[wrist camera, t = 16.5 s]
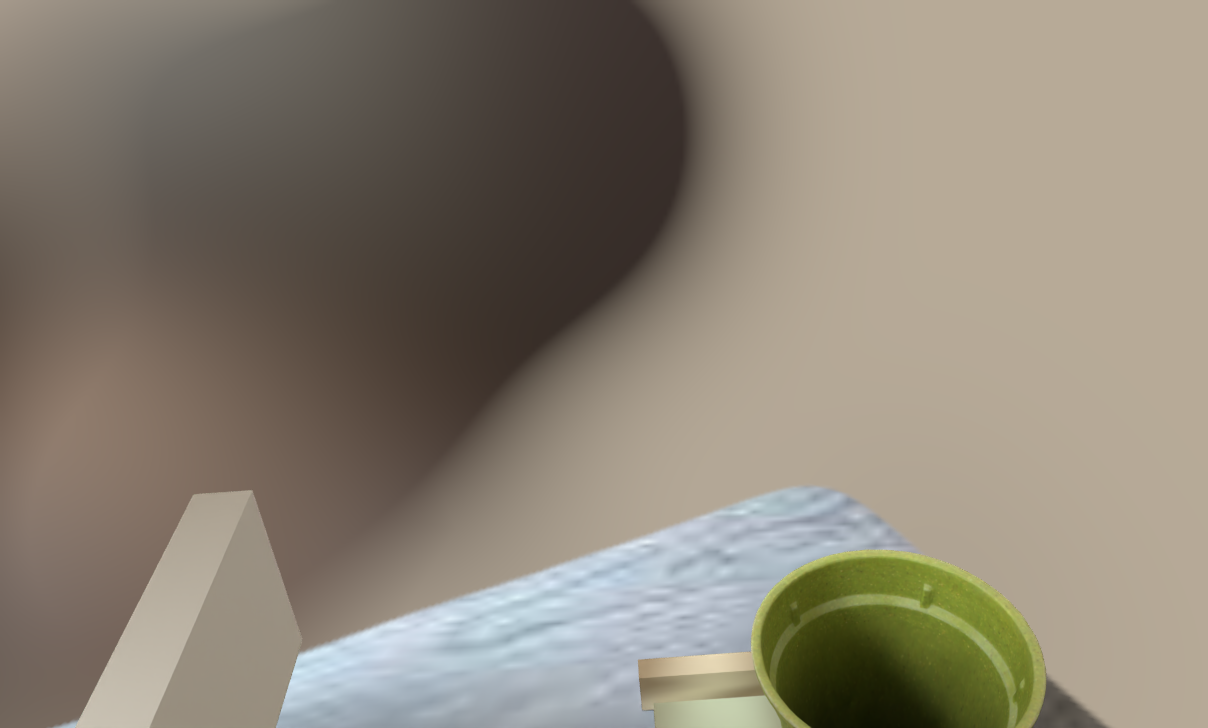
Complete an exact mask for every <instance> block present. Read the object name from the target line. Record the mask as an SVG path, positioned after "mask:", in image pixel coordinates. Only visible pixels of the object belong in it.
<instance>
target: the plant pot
mask: <svg viewBox="0 0 1208 728" xmlns="http://www.w3.org/2000/svg"><path fill="white" fill-rule="evenodd" d="M751 651H752V659H753V664H754V669H755V672H756V676H757V679H758V681H759V683H760V686H761V688H762V690H763V692H764V694H765V696H766V697H767V699H768V701H769V702H770V704H771V705H772V707H773V708H774V709H775V711H776V713H777V715H778V717H779V719H780V721H781V726H782V728H1032V727H1033V726H1034V724H1035V722H1036V720H1037V718H1038V716H1039V713H1040V711H1041V708H1042V705H1043V701H1044V697H1045V691H1046V668H1045V664H1044V659H1043V654H1042V651H1041V648H1040V646H1039V643H1038V640H1037V638H1036V636H1035V635H1034V633H1033V631H1032V630H1031V628H1030V627H1029V625H1028V623H1027V622H1026V620H1025V618H1024V617H1023V616H1022V614H1021V613H1020V612H1019V611H1018V610H1017V609H1016V608H1015V607H1014V606H1013V605H1012V604H1011V602H1010V601H1008V600H1007V599H1006V598H1005V597H1004V596H1003V595H1002V594H1001V593H999V592H998V591H997V590H995V589H994V588H992V587H991V586H990V585H988V584H987V583H986V582H984V581H982V580H981V579H979V578H977V577H975V576H974V575H972V574H970V573H969V572H967V571H965V570H963V569H961V568H959V567H957V566H954V565H952V564H949V563H946V562H944V561H941V560H938V559H934V558H931V557H928V556H925V555H921V554H915V553H910V552H903V551H893V550H860V551H850V552H843V553H838V554H833V555H829V556H826V557H823V558H820V559H817V560H815V561H812V562H810V563H808V564H805V565H803V566H801V567H800V568H798V569H796V570H794V571H793V572H791V573H790V574H788V575H787V576H786V577H784V578H783V579H782V580H781V581H780V582H779V583H777V584H776V585H775V586H774V587H773V588H772V589H771V590H770V592H769V593H768V594H767V596H766V597H765V598H764V600H763V602H762V604H761V606H760V608H759V609H758V611H757V614H756V617H755V619H754V623H753V628H752V635H751Z"/></svg>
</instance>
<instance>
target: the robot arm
mask: <svg viewBox="0 0 1208 728" xmlns="http://www.w3.org/2000/svg"><path fill="white" fill-rule="evenodd" d="M301 643H302V637H301V634H300V631H299V628H298V625H297V622H296V619H295V616H294V613H293V611H292V607H291V604H290V601H289V598H288V596H287V593H286V590H285V587H284V584H283V581H282V578H281V575H280V572H279V569H278V566H277V563H276V560H275V557H274V554H273V551H272V548H271V545H270V542H269V539H268V536H267V533H266V530H265V527H264V524H263V521H262V518H261V515H260V513H259V509H258V506H257V503H256V500H255V497H254V494H253V491H252V490H249V491H235V492H222V493H208V494H195V495H193V497H192V499H191V500H190V502H189V504H188V506H187V508H186V510H185V512H184V514H183V516H182V518H181V520H180V522H179V524H178V526H177V528H176V530H175V532H174V534H173V536H172V538H171V540H170V542H169V544H168V546H167V548H166V550H165V552H164V554H163V556H162V558H161V560H160V562H159V563H158V566H157V567H156V569H155V572H154V573H153V575H152V577H151V579H150V581H149V583H148V585H147V587H146V589H145V591H144V593H143V595H142V597H141V599H140V601H139V603H138V605H137V607H136V609H135V611H134V613H133V615H132V617H131V619H130V621H129V623H128V625H127V627H126V628H125V631H124V632H123V634H122V636H121V638H120V640H119V643H118V644H117V646H116V648H115V650H114V652H113V654H112V656H111V658H110V660H109V662H108V664H107V666H106V668H105V670H104V672H103V674H102V676H101V678H100V680H99V682H98V684H97V686H96V688H95V690H94V692H93V694H92V696H91V697H90V699H89V701H88V704H87V705H86V707H85V709H84V711H83V713H82V715H81V717H80V719H79V721H78V723H77V725H76V727H75V728H276V725H277V721H278V718H279V715H280V712H281V708H282V705H283V702H284V699H285V695H286V692H287V689H288V685H289V682H290V679H291V676H292V672H293V669H294V666H295V663H296V659H297V656H298V653H299V650H300V646H301Z"/></svg>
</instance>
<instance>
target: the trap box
mask: <svg viewBox="0 0 1208 728" xmlns="http://www.w3.org/2000/svg"><path fill="white" fill-rule="evenodd" d="M638 667H639V682H640V692H641V702H642V710H654V719H655V728H782V726H781V721H780V719H779V717H778V715H777V713H776V711H775V709H774V708H773V707H772V705H771V704H770V702H769V701H768V699H767V697H766V696H765V694H764V692H763V690H762V688H761V686H760V683H759V681H758V679H757V676H756V672H755V669H754V664H753V659H752V652H739V653H725V654H712V655H698V656H684V657H670V658H656V659H642V660H638Z"/></svg>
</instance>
